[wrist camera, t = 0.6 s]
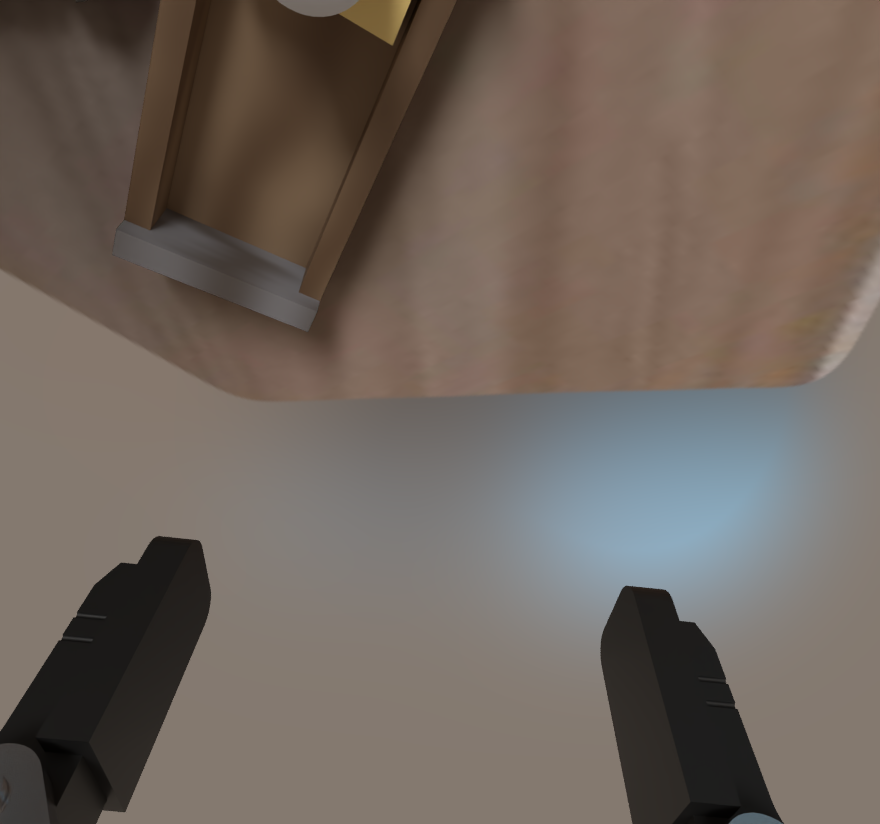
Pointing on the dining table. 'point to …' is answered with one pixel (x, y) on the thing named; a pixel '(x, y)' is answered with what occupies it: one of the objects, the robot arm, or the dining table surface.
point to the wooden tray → (265, 145)
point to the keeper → (358, 13)
